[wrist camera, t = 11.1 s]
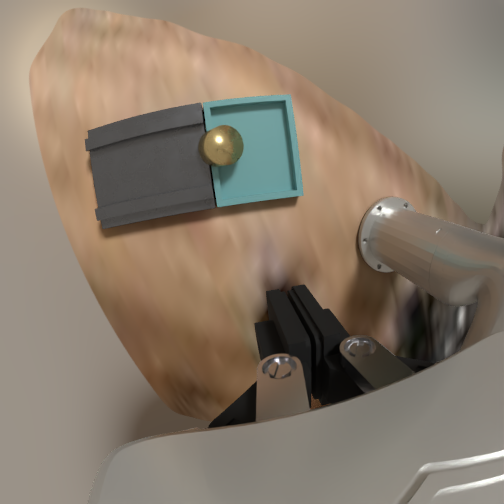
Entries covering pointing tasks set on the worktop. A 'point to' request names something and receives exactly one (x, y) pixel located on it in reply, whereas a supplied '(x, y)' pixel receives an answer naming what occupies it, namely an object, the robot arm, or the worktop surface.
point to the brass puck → (221, 146)
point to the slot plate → (150, 166)
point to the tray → (257, 149)
